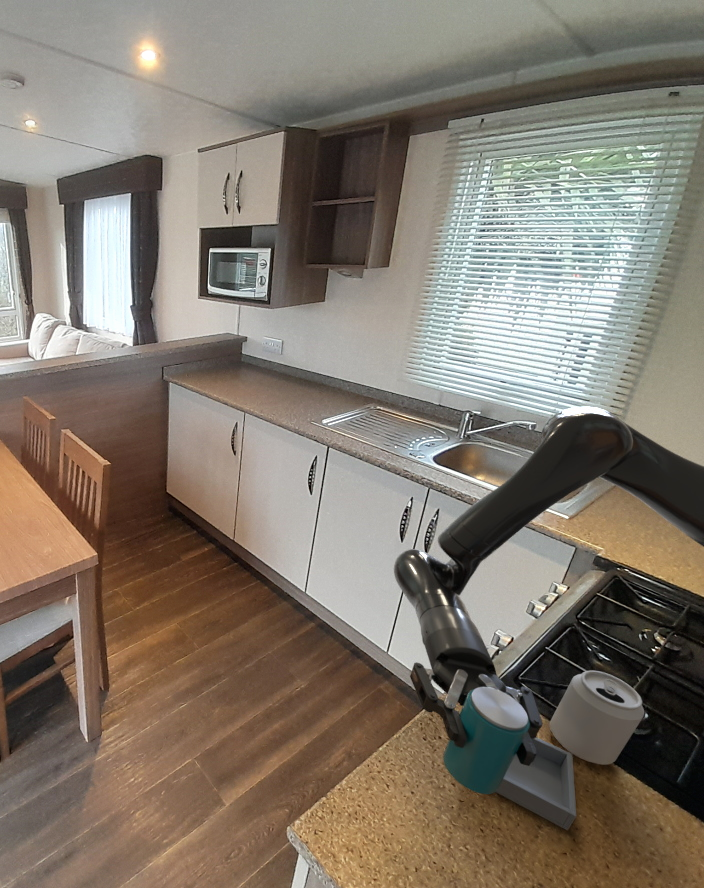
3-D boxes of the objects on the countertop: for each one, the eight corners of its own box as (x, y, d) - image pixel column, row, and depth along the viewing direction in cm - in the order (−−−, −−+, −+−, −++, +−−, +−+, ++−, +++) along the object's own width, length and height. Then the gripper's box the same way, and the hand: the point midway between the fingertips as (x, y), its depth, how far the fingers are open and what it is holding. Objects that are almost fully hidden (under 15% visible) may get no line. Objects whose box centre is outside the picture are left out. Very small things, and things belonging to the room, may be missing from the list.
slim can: (500, 765, 62) (531, 702, 57) (497, 805, 58) (531, 741, 53) (446, 737, 66) (471, 676, 61) (439, 773, 61) (466, 710, 56)
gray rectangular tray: (564, 767, 69) (572, 753, 68) (567, 830, 62) (576, 816, 60) (470, 722, 75) (476, 709, 74) (463, 775, 68) (469, 761, 67)
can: (545, 745, 72) (575, 689, 67) (548, 711, 77) (576, 656, 72) (614, 779, 67) (652, 722, 62) (613, 741, 72) (648, 685, 67)
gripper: (405, 615, 72) (433, 713, 57) (520, 638, 67) (582, 750, 53) (394, 651, 75) (417, 753, 60) (503, 676, 70) (557, 791, 56)
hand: (494, 751), depth 57 cm, fingers closed on slim can, 6 cm apart
